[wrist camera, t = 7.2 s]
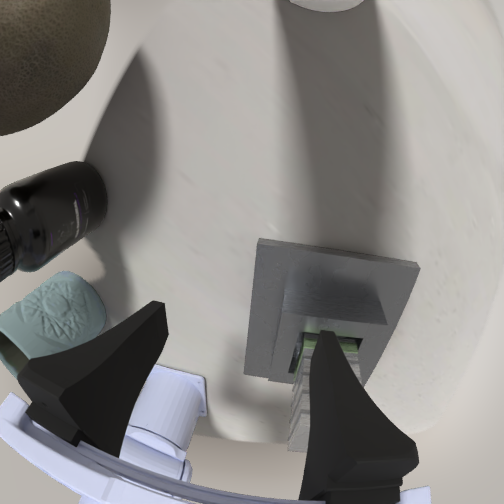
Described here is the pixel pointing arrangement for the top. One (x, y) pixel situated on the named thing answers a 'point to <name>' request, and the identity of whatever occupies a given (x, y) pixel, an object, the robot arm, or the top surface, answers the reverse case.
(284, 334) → the stand base
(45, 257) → the supplement bottle
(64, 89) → the cantaloupe
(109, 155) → the top surface
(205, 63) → the top surface
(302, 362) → the column
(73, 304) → the teal embossed planter pot
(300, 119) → the top surface
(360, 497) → the robot arm
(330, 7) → the cylindrical container
